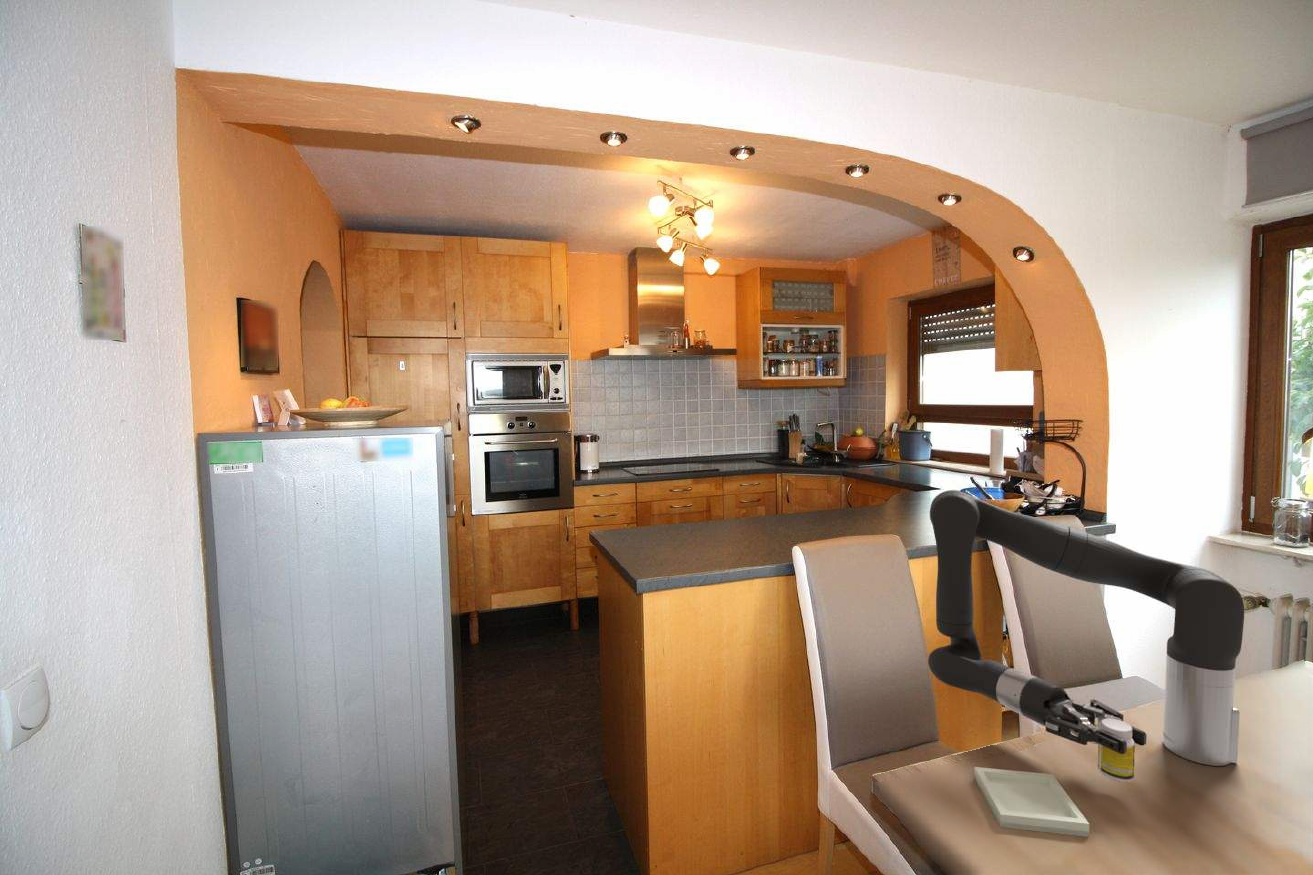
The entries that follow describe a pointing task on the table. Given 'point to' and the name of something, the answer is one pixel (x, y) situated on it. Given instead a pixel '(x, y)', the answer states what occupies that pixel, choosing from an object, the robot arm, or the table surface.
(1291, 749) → the table surface
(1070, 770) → the table surface
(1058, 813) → the tray
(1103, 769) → the supplement bottle
